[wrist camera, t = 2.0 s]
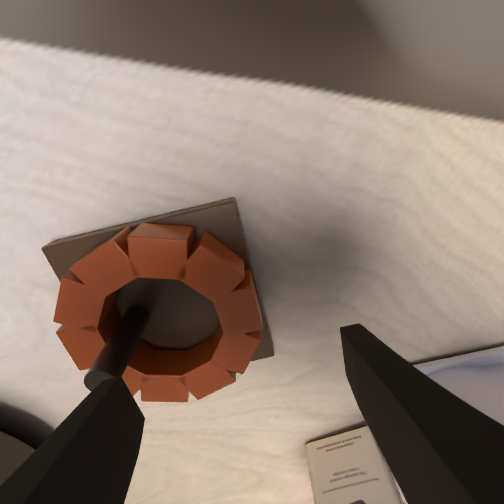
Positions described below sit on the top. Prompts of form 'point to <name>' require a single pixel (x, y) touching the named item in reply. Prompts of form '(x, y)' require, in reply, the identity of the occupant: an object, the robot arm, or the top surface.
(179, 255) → the ring
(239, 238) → the post stand
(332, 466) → the ink box
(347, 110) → the top surface
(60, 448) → the robot arm
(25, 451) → the planter
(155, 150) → the top surface
